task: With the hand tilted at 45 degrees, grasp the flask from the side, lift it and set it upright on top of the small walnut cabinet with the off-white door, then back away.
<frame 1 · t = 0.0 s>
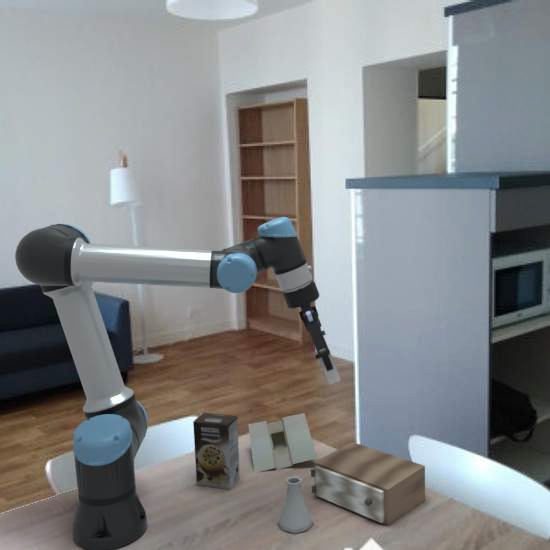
hand: (331, 372, 146), 28 cm above the table, tool tilted 20°, fingers open, 13 cm apart
grooved block with hole: (282, 459, 168), on the table
coffee box: (218, 482, 157), on the table
cabinet: (369, 497, 146), on the table
flask: (295, 525, 136), on the table
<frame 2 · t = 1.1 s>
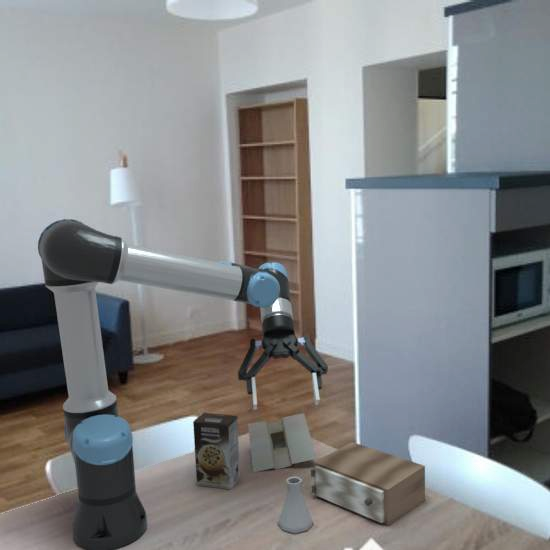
hand: (286, 404, 142), 23 cm above the table, tool tilted 45°, fingers open, 13 cm apart
nothing on the table moved.
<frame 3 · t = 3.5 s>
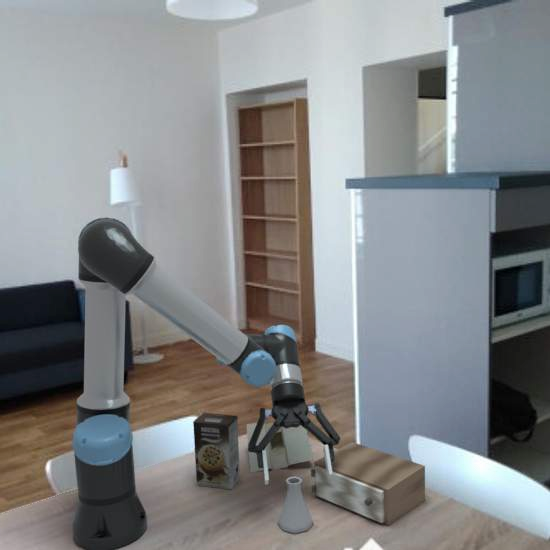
hand: (298, 479, 138), 8 cm above the table, tool tilted 45°, fingers open, 13 cm apart
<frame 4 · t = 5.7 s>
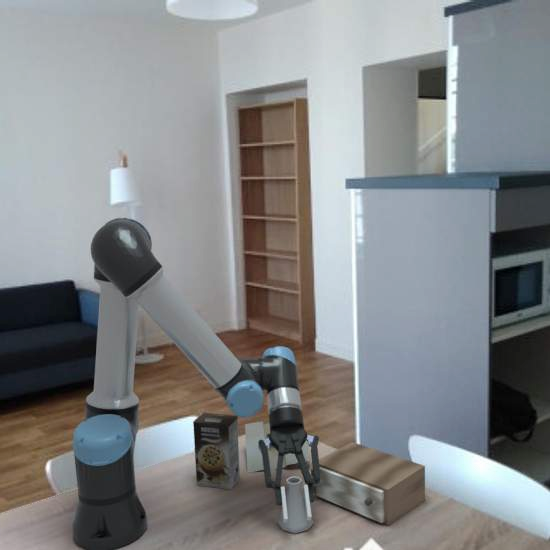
hand: (297, 519, 132), 3 cm above the table, tool tilted 45°, fingers closed on flask, 4 cm apart
flask: (295, 525, 136), on the table, touching gripper
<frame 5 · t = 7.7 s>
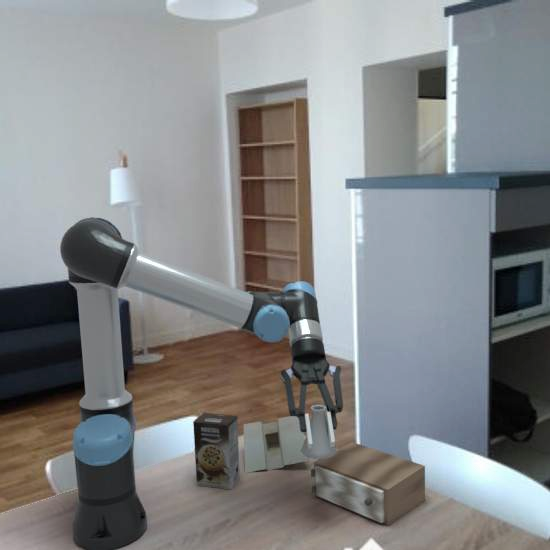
hand: (321, 445, 132), 18 cm above the table, tool tilted 45°, fingers closed on flask, 4 cm apart
flask: (318, 453, 137), point 14 cm above the table, touching gripper
when the fingers open (13 cm above the table, at t = 9.7 s): flask drops 1 cm, resting on cabinet.
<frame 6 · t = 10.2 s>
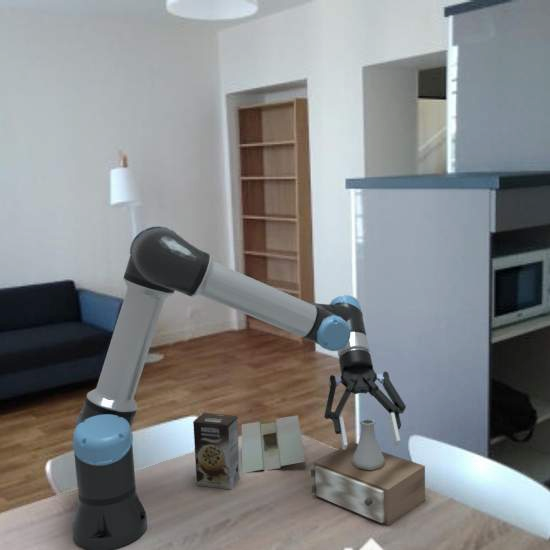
hand: (371, 445, 141), 14 cm above the table, tool tilted 45°, fingers open, 11 cm apart
flask: (368, 464, 145), point 8 cm above the table, touching cabinet
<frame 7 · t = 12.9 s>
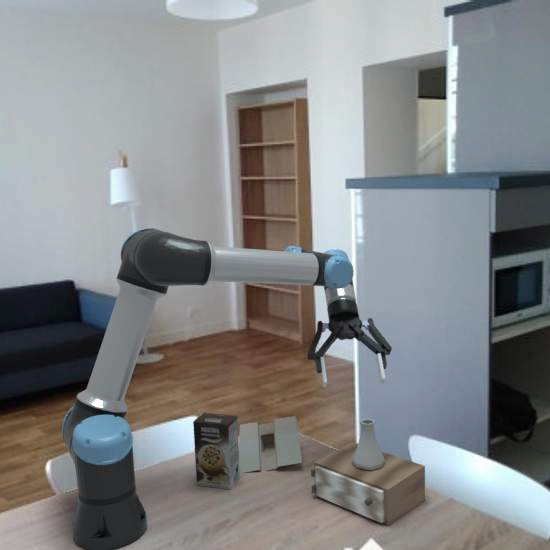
hand: (354, 383, 152), 24 cm above the table, tool tilted 45°, fingers open, 13 cm apart
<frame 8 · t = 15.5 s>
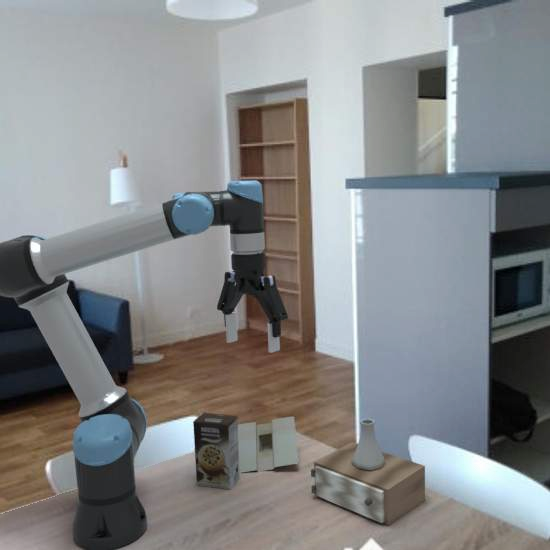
hand: (252, 346, 145), 35 cm above the table, tool pointing down, fingers open, 13 cm apart
at the end: flask inside the target area on the cabinet (0.1 cm from its centre), point 7.8 cm above the cabinet's base; flask tilted 0°; the gripper is holding nothing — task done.
